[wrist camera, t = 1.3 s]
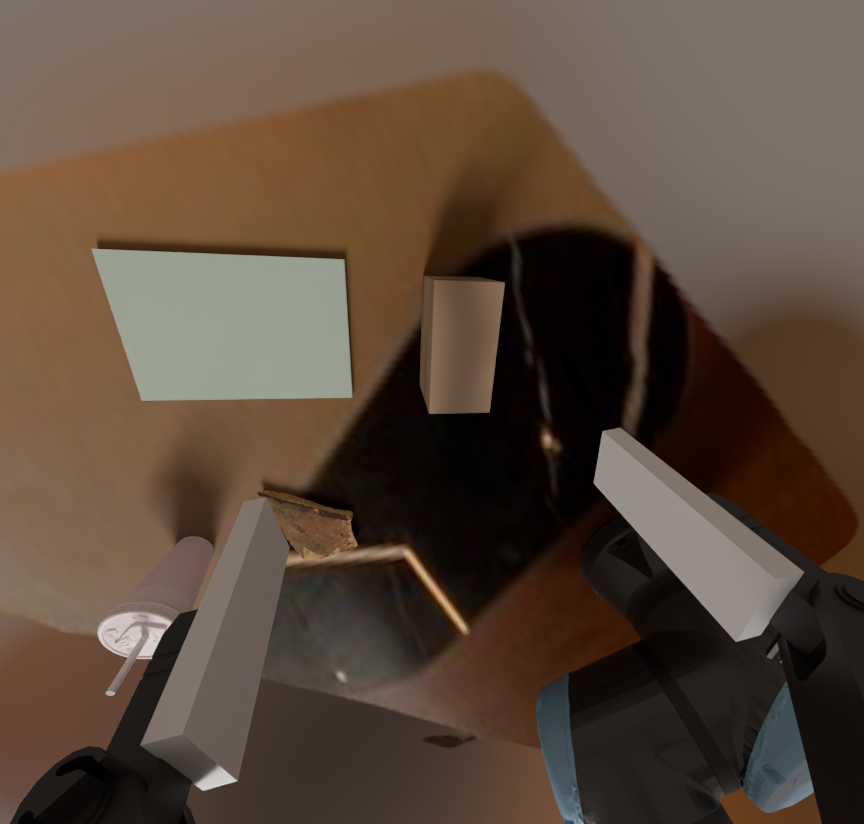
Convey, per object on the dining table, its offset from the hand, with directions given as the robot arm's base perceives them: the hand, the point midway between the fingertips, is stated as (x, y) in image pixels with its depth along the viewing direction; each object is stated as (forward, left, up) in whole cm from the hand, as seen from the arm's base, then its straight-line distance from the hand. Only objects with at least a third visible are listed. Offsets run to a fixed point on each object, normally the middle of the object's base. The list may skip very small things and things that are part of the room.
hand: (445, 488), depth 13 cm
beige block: (-4, -2, -21) cm, 21 cm away
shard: (+11, +20, -21) cm, 31 cm away
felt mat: (+14, -2, -21) cm, 25 cm away
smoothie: (+23, +22, -21) cm, 38 cm away
